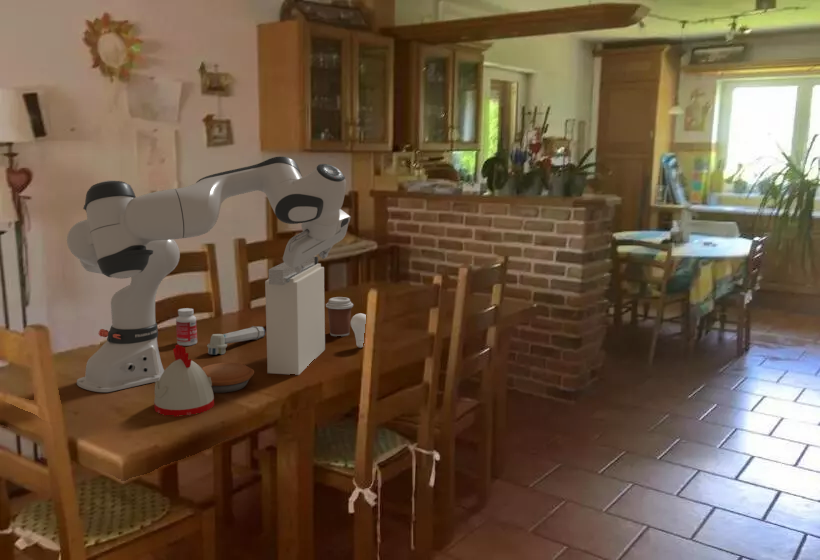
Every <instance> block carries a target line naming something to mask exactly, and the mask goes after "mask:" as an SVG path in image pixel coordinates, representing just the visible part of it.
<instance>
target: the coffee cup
mask: <svg viewBox="0 0 820 560" xmlns="http://www.w3.org/2000/svg"><path fill="white" fill-rule="evenodd" d="M325 307H326V308H327V316H328V323H329V324H328V325H329V334H330V336H331V337H337V336H341V337H347V336H349V335H350V327H351V318H352V317H351V315H352V308H353V307H354V303H353V302H352V301H351V298H349V297H343V296H336V297H331V298H329V299H328V302H327V303H325Z"/></svg>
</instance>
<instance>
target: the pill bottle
mask: <svg viewBox="0 0 820 560" xmlns="http://www.w3.org/2000/svg"><path fill="white" fill-rule="evenodd" d="M177 314H178V316H177V318H176V319H175V324H176V325H175V328H176V343H177V344H176V345H179V346H183V347H186V346H187V347H188V346H194V345H196V344H197V343H198V329H197V326H198V325H197V317H196V315H194V308H189V307H186V308H185V307H184V308H179V309H177Z"/></svg>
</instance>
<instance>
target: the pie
mask: <svg viewBox="0 0 820 560" xmlns="http://www.w3.org/2000/svg"><path fill="white" fill-rule="evenodd" d="M201 368H202V369H203V371H204V372H205V374H206V375H207V377H211V382H212V386H211V387H212V390H213V394H214V393H216V394H219V393H220V394H221V393H231V392H236V391H240V390H242V389H243V388H245V387H246V386H247V385H248V383H249V381H250V379H252V377H253V375H254V373H255V370H254V369H252V368H251V367H249V366H247V365H245V364H244V363H243V364H242V363H239V362H238V363H237V362H220V363H219V362H218V363H212V364H208V365H206V366H203V367H201Z"/></svg>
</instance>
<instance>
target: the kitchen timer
mask: <svg viewBox="0 0 820 560" xmlns="http://www.w3.org/2000/svg"><path fill="white" fill-rule="evenodd" d="M172 350H173V355H174V361H173V362H172V363H170V364H169V365H168V366H166V368H165V369H164V372H163V374H162V376H161V377H160V380H159V381H156V382H154V401H153V403H154V411H155V413H157V412H158V414H159V413H160V414H159V415H161V414H164V415H163V416H166V415H174V416H173V417H180V416H179V415H189V416H192V415H191V414H195V415H197V414H196V413H199V414H202V413H205V412H207V410H208V411H210V410H211V409H212V408H213V407H214V406H215V395H214V392H213V390H212V387H211V386H212V382H211V377H207V375H206V374H205V372H204V371H203V369H202V368H203V367H201V366H200V365H199V364H197V363H196V362H195V361H193V360H192V359H191V358H189V352H186V351H187V350H186V346H182V345H178V344H175V348H173V349H172ZM210 408H211V409H210ZM204 411H205V412H204ZM201 412H202V413H201ZM177 415H178V416H177Z"/></svg>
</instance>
